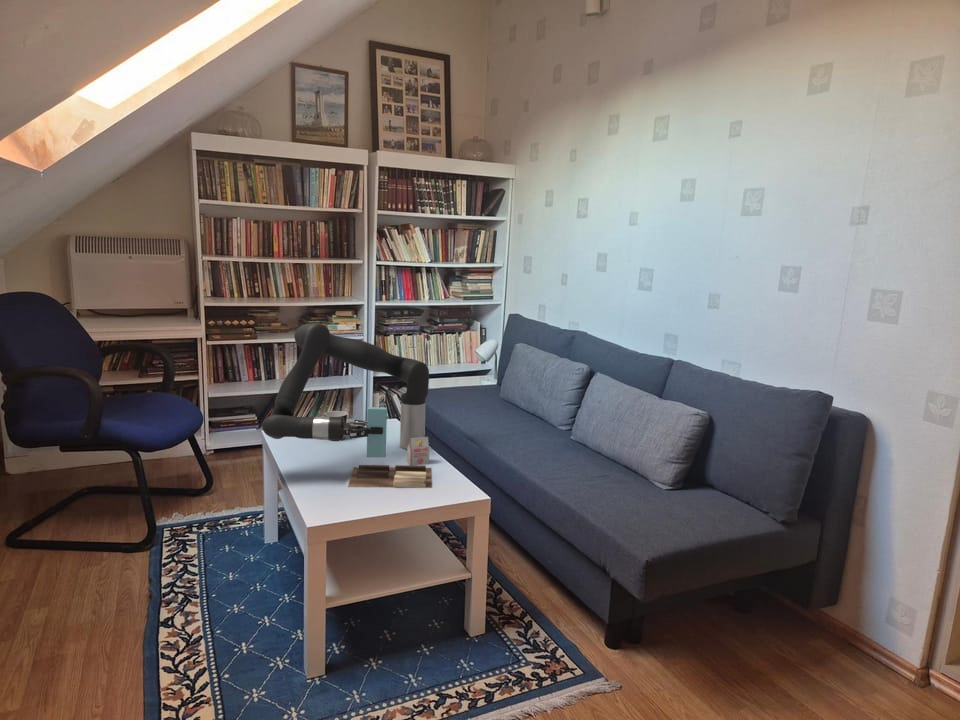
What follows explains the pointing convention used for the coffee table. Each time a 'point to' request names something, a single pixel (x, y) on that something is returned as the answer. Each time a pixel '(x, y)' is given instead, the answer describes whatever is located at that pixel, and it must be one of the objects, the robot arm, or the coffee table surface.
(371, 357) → the robot arm
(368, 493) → the coffee table surface
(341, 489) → the coffee table surface
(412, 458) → the tea bag
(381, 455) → the teal panel
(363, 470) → the walnut rack
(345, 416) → the coffee mug
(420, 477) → the pine offcuts
